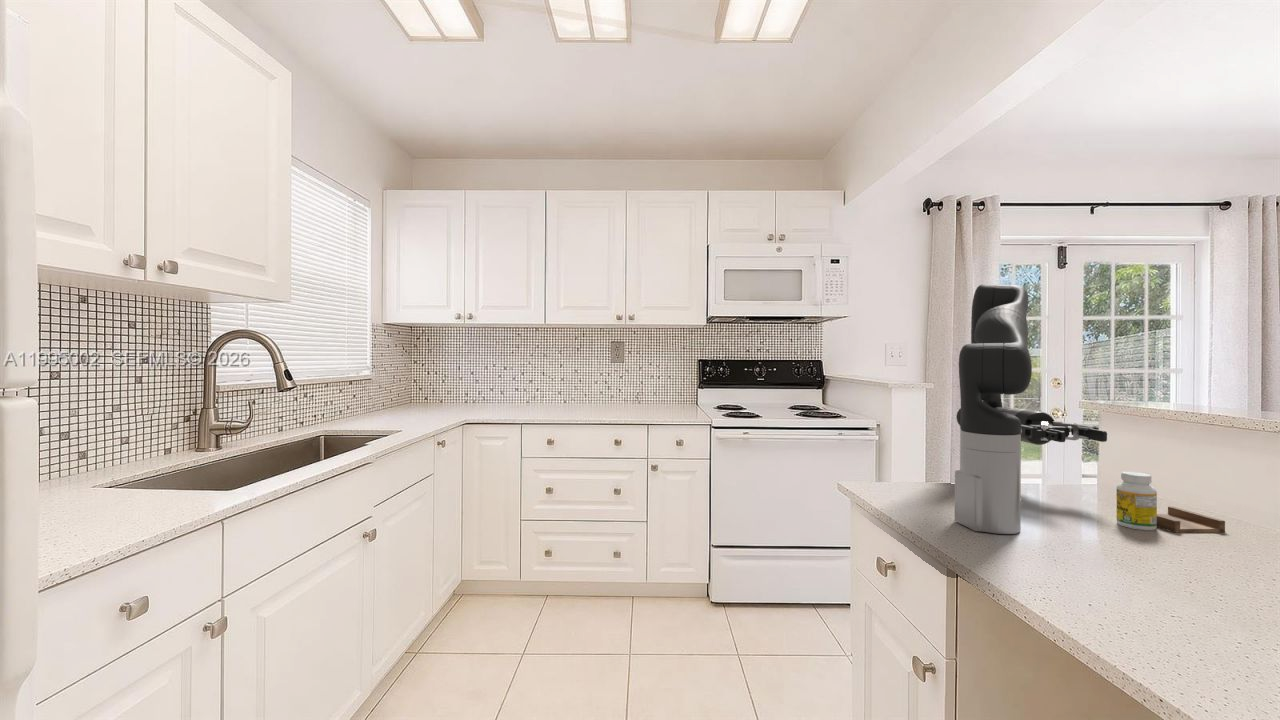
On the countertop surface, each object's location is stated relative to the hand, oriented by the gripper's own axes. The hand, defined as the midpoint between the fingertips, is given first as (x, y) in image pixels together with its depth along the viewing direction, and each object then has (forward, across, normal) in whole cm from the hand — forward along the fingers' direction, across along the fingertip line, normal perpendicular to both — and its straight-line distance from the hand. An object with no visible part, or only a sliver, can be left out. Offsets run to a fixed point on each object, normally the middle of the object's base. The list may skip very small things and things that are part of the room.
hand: (1084, 436), depth 108 cm
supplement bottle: (+11, 0, +15) cm, 19 cm away
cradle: (+10, +8, +14) cm, 19 cm away
